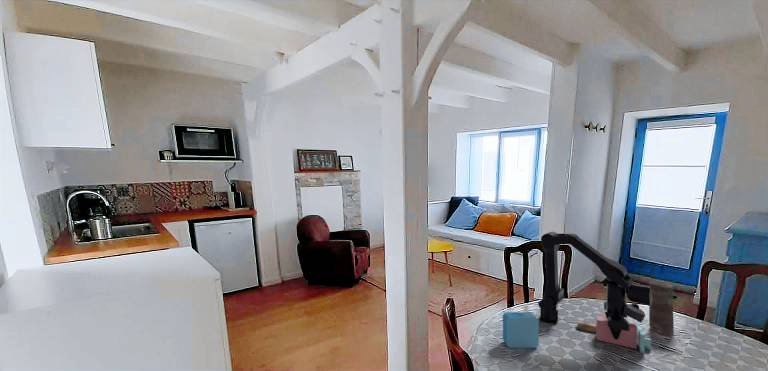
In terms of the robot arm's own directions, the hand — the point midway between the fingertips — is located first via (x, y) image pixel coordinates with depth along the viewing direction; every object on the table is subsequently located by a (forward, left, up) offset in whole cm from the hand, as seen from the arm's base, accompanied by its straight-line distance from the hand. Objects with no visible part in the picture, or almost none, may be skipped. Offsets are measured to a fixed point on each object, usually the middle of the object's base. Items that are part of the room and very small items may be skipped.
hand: (615, 336), depth 115 cm
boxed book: (0, 0, -2) cm, 2 cm away
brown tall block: (+17, +19, -2) cm, 25 cm away
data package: (-31, -20, -2) cm, 37 cm away
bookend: (+9, 0, -2) cm, 9 cm away
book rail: (-3, +5, -2) cm, 7 cm away
